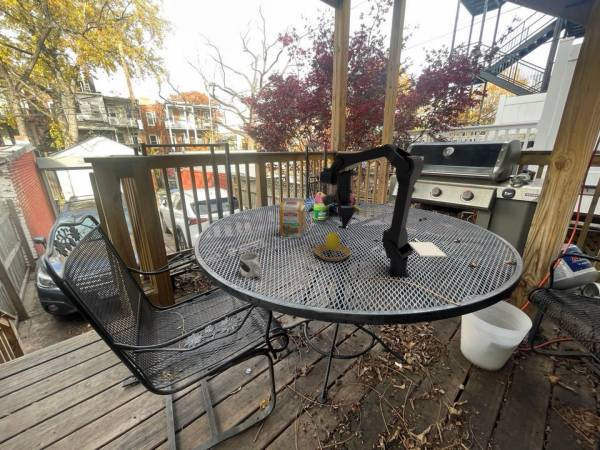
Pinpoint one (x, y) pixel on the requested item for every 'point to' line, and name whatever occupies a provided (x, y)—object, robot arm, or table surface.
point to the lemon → (332, 241)
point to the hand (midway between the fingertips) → (342, 224)
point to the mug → (250, 265)
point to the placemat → (427, 249)
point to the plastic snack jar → (292, 217)
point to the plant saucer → (340, 248)
